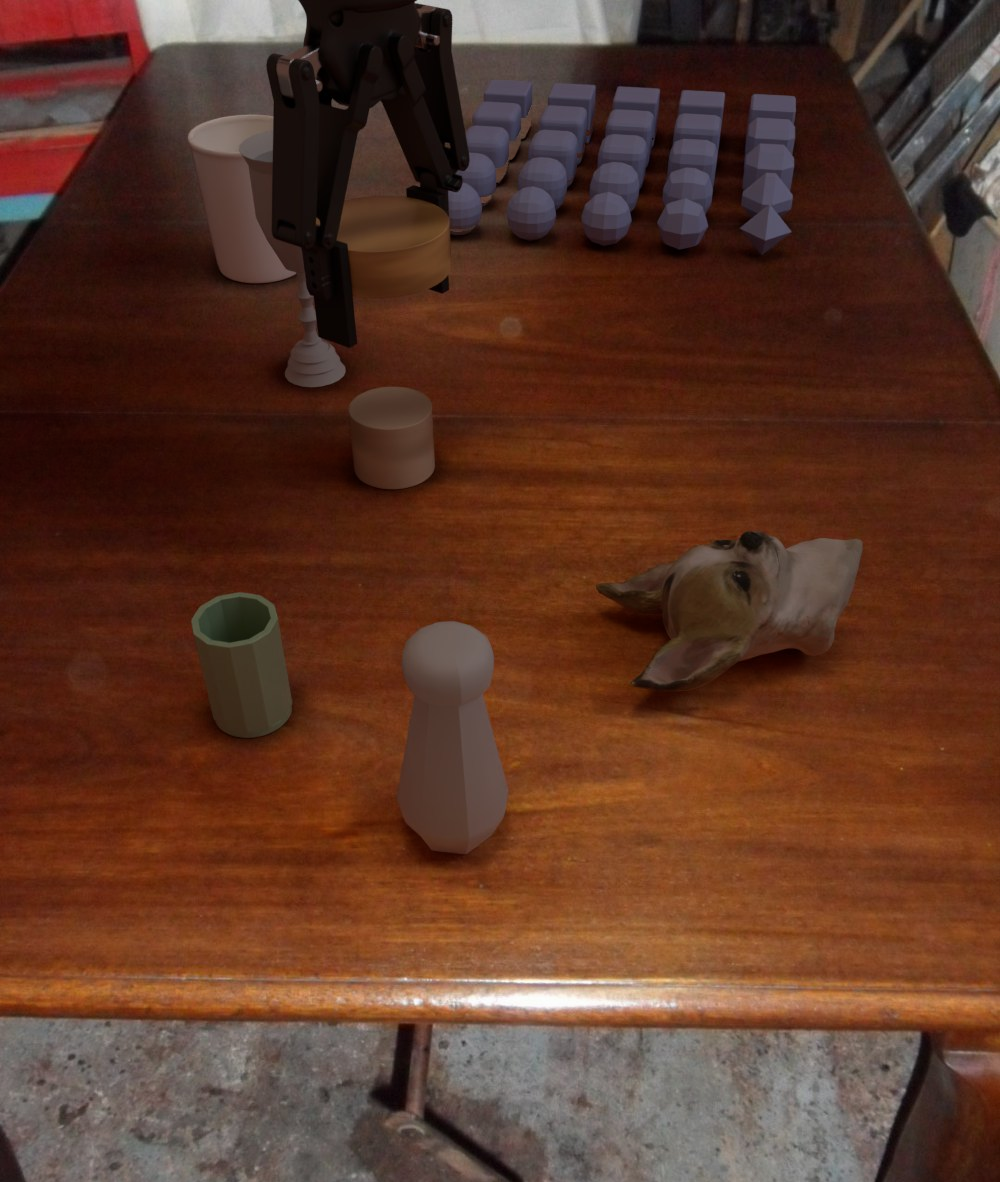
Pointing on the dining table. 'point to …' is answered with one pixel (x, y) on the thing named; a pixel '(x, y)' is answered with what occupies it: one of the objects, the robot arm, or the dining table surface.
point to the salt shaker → (450, 740)
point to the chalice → (312, 354)
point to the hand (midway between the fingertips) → (385, 312)
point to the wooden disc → (394, 245)
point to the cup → (243, 664)
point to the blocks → (626, 162)
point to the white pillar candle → (392, 437)
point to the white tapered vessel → (233, 198)
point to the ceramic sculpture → (739, 604)
